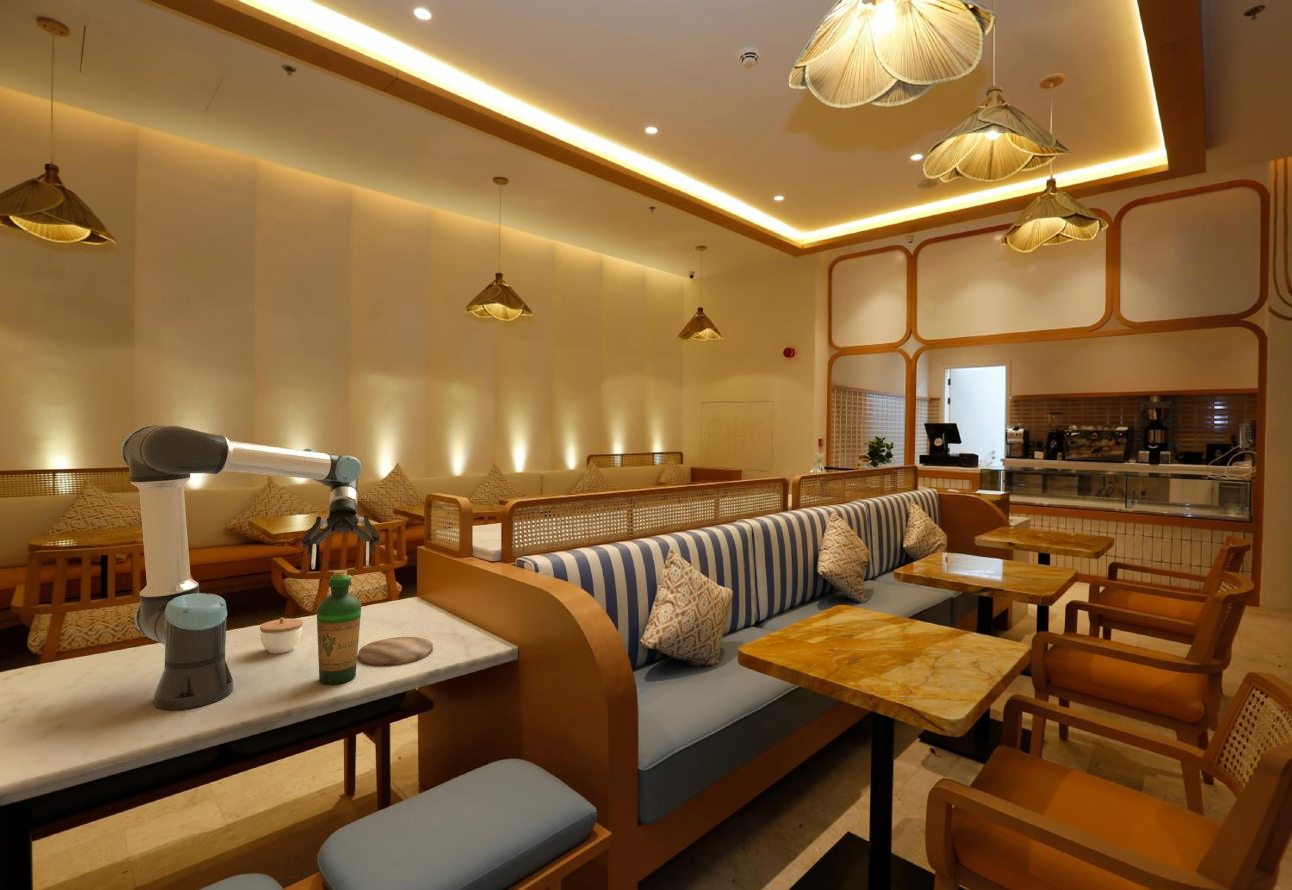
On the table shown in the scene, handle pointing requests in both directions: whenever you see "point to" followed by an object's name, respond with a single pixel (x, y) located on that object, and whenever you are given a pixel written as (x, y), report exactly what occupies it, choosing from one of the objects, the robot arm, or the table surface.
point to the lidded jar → (281, 634)
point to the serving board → (395, 651)
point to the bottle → (338, 631)
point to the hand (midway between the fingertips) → (340, 564)
